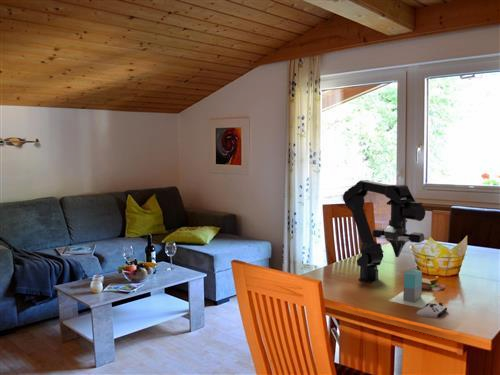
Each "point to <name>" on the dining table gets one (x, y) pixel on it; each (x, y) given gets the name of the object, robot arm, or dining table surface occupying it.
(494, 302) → the dining table surface
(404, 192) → the robot arm
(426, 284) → the toy sandwich meal
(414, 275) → the teal brick
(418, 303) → the base plate
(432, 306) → the gaming controller
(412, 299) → the grey rectangular block
